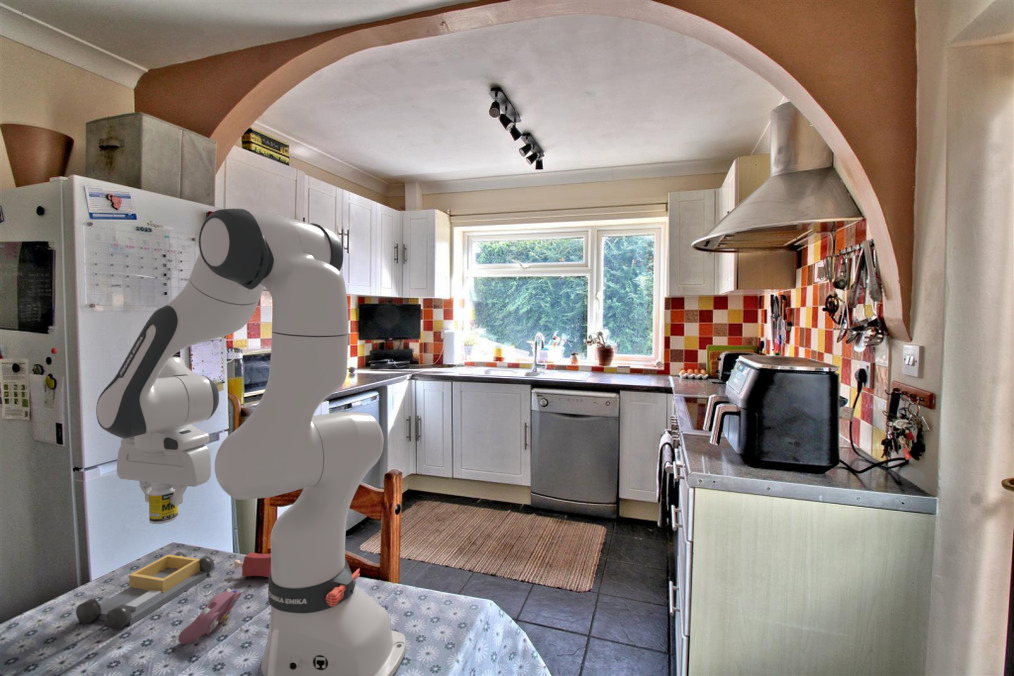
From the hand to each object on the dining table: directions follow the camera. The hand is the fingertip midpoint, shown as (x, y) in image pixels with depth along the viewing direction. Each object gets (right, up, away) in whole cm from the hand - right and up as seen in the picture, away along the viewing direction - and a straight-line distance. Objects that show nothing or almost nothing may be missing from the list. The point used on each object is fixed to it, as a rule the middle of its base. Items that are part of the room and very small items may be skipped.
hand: (164, 502), depth 96 cm
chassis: (0, -17, -3) cm, 17 cm away
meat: (+18, -17, +4) cm, 25 cm away
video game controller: (+18, -18, -13) cm, 28 cm away
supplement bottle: (0, -4, 0) cm, 4 cm away
